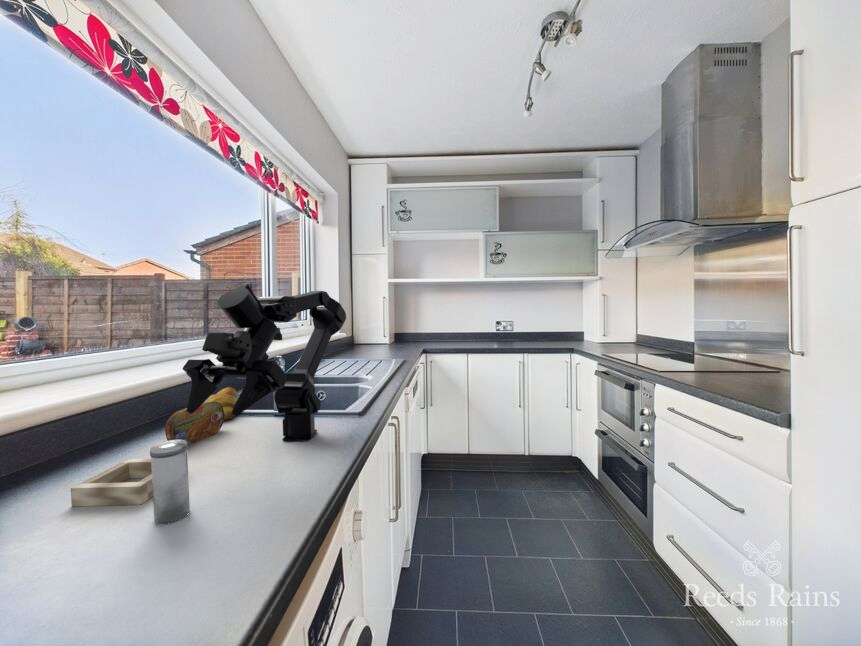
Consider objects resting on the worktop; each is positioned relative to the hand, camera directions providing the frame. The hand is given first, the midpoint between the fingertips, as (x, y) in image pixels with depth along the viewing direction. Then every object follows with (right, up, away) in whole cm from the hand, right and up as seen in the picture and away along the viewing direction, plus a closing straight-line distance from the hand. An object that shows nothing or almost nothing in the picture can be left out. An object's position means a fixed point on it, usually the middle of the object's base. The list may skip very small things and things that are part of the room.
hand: (210, 414), depth 61 cm
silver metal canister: (-2, -14, -7) cm, 16 cm away
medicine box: (-7, -12, +48) cm, 50 cm away
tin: (-19, -13, +26) cm, 35 cm away
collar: (-15, -14, +2) cm, 20 cm away
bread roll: (-24, -12, +43) cm, 51 cm away
